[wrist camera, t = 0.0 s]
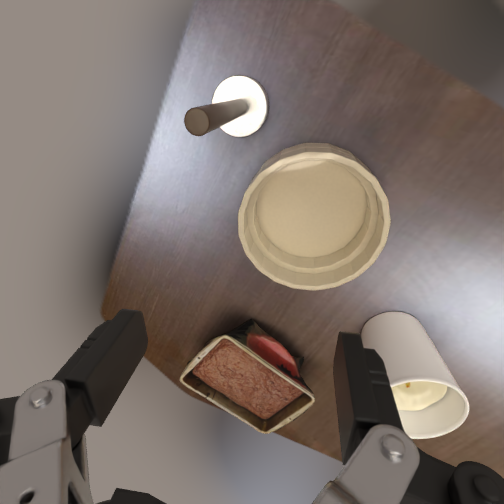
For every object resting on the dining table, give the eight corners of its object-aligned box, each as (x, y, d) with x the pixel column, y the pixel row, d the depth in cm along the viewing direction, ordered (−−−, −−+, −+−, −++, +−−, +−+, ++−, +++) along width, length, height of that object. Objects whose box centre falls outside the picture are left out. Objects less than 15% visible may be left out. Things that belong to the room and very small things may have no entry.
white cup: (395, 293, 41) (427, 365, 30) (444, 334, 43) (490, 415, 32) (340, 333, 45) (351, 407, 35) (387, 368, 47) (411, 449, 37)
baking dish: (249, 291, 46) (224, 333, 38) (329, 372, 48) (322, 430, 40) (195, 333, 54) (164, 377, 45) (267, 402, 55) (249, 457, 47)
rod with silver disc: (215, 75, 32) (144, 68, 18) (270, 75, 31) (242, 67, 17) (218, 133, 35) (158, 167, 20) (268, 134, 34) (243, 171, 20)
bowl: (246, 140, 34) (236, 149, 29) (390, 144, 33) (406, 155, 27) (247, 259, 42) (239, 284, 36) (364, 268, 40) (374, 295, 35)
